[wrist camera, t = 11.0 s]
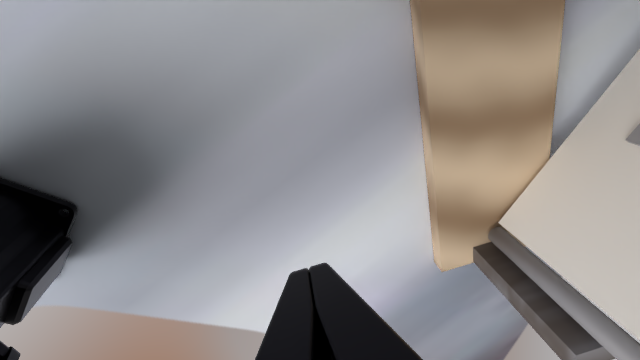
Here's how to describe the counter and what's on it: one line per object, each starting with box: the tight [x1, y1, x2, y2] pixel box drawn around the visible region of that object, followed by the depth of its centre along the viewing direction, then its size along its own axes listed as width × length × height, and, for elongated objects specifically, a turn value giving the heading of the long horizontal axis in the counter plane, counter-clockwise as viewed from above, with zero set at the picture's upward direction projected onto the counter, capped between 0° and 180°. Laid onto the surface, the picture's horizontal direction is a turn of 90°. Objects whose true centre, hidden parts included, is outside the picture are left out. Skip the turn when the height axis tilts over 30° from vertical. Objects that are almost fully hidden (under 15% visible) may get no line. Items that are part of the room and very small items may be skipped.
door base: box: [410, 0, 615, 360], centre depth 16 cm, size 23×8×10 cm, turn 13°
